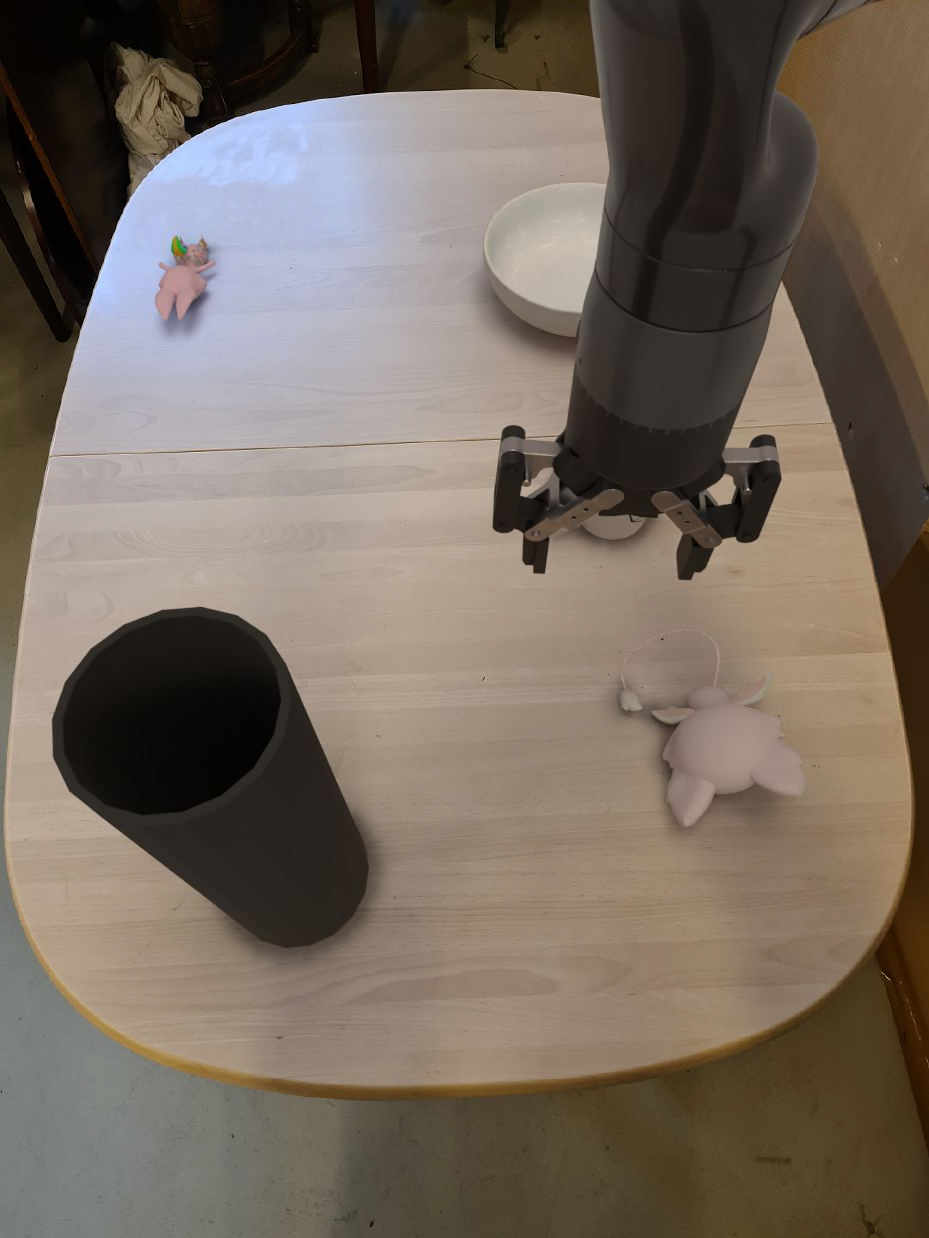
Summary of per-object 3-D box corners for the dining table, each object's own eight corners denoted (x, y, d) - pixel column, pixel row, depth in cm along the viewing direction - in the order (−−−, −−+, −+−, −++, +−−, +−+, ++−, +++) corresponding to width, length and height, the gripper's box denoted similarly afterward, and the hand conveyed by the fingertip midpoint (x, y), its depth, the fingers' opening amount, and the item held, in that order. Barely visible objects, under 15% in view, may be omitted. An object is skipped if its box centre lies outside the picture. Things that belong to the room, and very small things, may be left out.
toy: (632, 715, 74) (687, 861, 62) (599, 659, 69) (653, 806, 58) (761, 659, 71) (844, 800, 60) (736, 597, 67) (821, 737, 55)
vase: (225, 953, 60) (31, 835, 34) (232, 812, 65) (68, 616, 39) (371, 940, 60) (290, 813, 34) (367, 801, 65) (293, 598, 39)
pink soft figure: (171, 262, 99) (147, 335, 90) (155, 211, 94) (128, 282, 85) (225, 260, 99) (207, 333, 90) (212, 208, 95) (191, 279, 85)
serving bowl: (713, 292, 93) (729, 237, 87) (591, 397, 86) (599, 344, 80) (566, 211, 100) (572, 155, 94) (442, 301, 93) (440, 246, 87)
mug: (571, 581, 75) (582, 512, 66) (519, 515, 79) (524, 441, 70) (675, 525, 78) (699, 452, 69) (620, 464, 81) (637, 387, 73)
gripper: (495, 418, 35) (488, 614, 49) (845, 430, 35) (738, 624, 49) (501, 294, 39) (493, 509, 53) (818, 303, 38) (725, 518, 53)
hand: (611, 564), depth 51 cm, fingers open, 8 cm apart
